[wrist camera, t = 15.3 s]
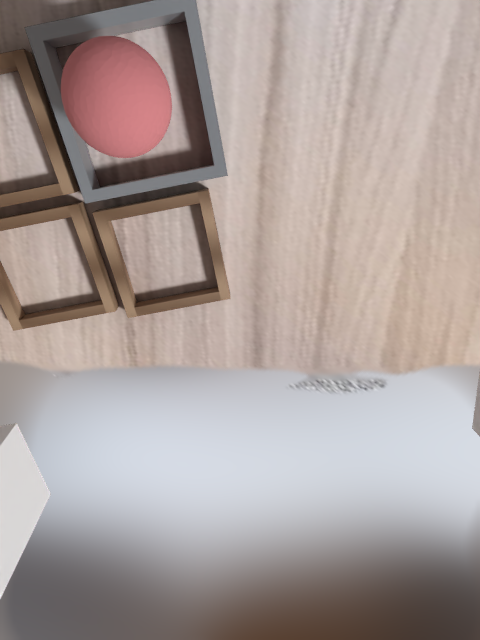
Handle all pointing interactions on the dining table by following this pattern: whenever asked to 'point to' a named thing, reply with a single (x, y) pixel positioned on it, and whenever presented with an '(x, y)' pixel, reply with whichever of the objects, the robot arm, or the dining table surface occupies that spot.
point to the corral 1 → (47, 127)
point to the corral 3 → (166, 8)
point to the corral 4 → (119, 268)
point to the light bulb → (116, 96)
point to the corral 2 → (4, 292)
